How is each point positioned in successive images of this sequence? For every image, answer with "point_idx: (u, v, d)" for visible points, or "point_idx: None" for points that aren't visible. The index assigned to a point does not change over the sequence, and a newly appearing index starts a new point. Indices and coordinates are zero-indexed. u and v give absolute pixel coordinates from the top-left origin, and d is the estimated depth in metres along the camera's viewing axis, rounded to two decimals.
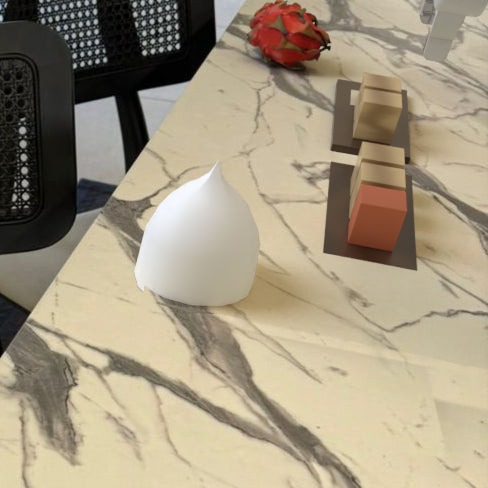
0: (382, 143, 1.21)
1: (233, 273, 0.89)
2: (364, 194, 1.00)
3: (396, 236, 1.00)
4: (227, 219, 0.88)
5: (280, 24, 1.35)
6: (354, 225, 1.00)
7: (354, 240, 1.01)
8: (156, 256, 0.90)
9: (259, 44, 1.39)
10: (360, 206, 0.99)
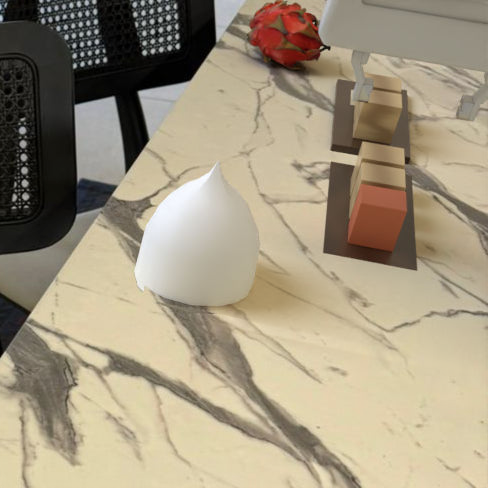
0: (382, 143, 1.21)
1: (233, 273, 0.89)
2: (364, 194, 1.00)
3: (396, 236, 1.00)
4: (227, 219, 0.88)
5: (280, 24, 1.35)
6: (354, 225, 1.00)
7: (354, 240, 1.01)
8: (156, 256, 0.90)
9: (259, 44, 1.39)
10: (360, 206, 0.99)
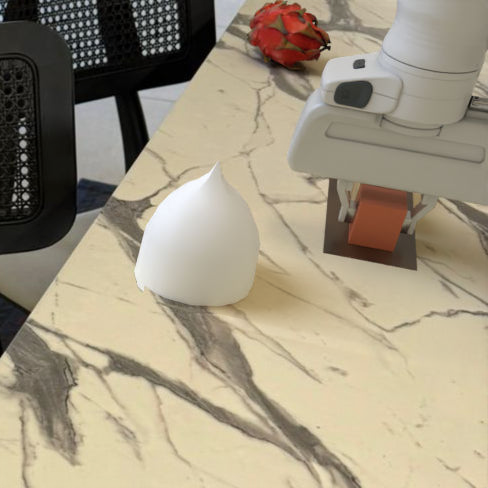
0: None
1: (233, 273, 0.89)
2: (364, 194, 1.00)
3: (397, 236, 1.00)
4: (227, 219, 0.88)
5: (280, 24, 1.35)
6: (354, 225, 1.00)
7: (354, 240, 1.01)
8: (156, 256, 0.90)
9: (259, 44, 1.39)
10: (360, 206, 0.99)
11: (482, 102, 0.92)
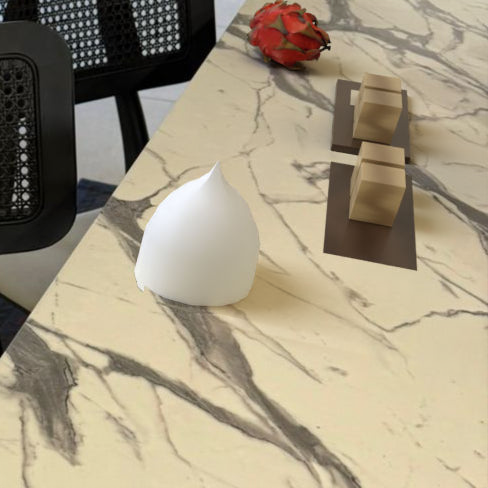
0: (382, 143, 1.21)
1: (233, 273, 0.89)
2: None
3: None
4: (227, 219, 0.88)
5: (280, 24, 1.35)
6: None
7: None
8: (156, 256, 0.90)
9: (259, 44, 1.39)
10: None
11: None
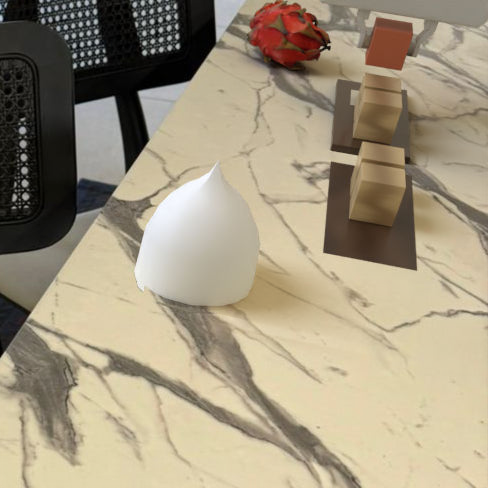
0: (382, 143, 1.21)
1: (233, 273, 0.89)
2: (378, 23, 1.24)
3: (404, 56, 1.24)
4: (227, 219, 0.88)
5: (280, 24, 1.35)
6: (370, 48, 1.25)
7: (370, 61, 1.26)
8: (156, 256, 0.90)
9: (259, 44, 1.39)
10: (375, 31, 1.23)
11: None
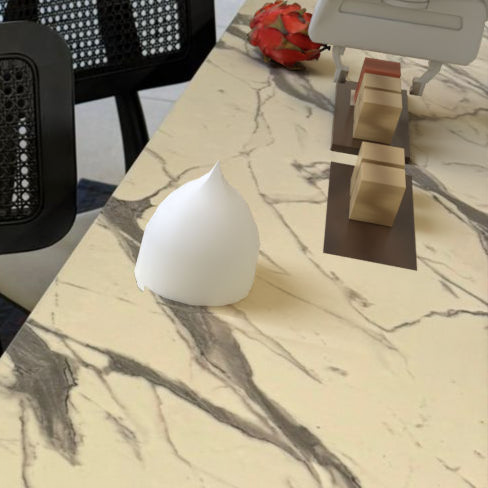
0: (382, 143, 1.21)
1: (233, 273, 0.89)
2: (367, 63, 1.28)
3: None
4: (227, 219, 0.88)
5: (280, 24, 1.35)
6: (359, 88, 1.28)
7: None
8: (156, 256, 0.90)
9: (259, 44, 1.39)
10: (364, 71, 1.26)
11: None
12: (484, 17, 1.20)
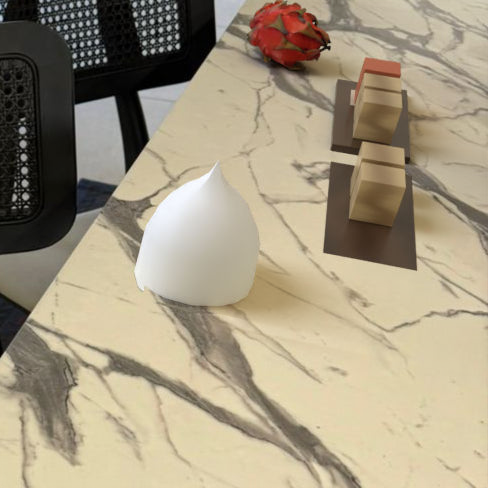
0: (382, 143, 1.21)
1: (233, 273, 0.89)
2: (367, 63, 1.28)
3: None
4: (227, 220, 0.88)
5: (280, 24, 1.35)
6: (359, 88, 1.28)
7: None
8: (156, 256, 0.90)
9: (259, 44, 1.39)
10: (364, 71, 1.26)
11: None
12: None
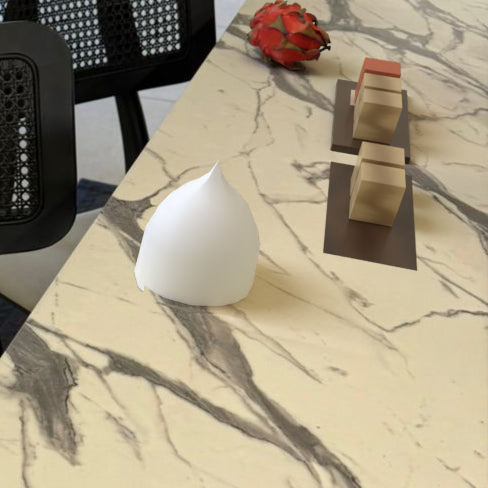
0: (382, 143, 1.21)
1: (233, 273, 0.89)
2: (367, 63, 1.28)
3: None
4: (227, 220, 0.88)
5: (280, 24, 1.35)
6: (359, 88, 1.28)
7: None
8: (156, 256, 0.90)
9: (259, 44, 1.39)
10: (364, 71, 1.26)
11: None
12: None
